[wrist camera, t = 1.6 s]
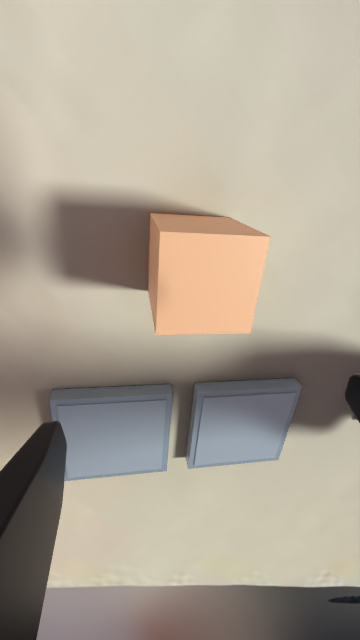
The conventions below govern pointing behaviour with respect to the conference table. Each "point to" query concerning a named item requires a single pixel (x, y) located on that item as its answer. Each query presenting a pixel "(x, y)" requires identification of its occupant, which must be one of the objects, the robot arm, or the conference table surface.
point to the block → (204, 274)
